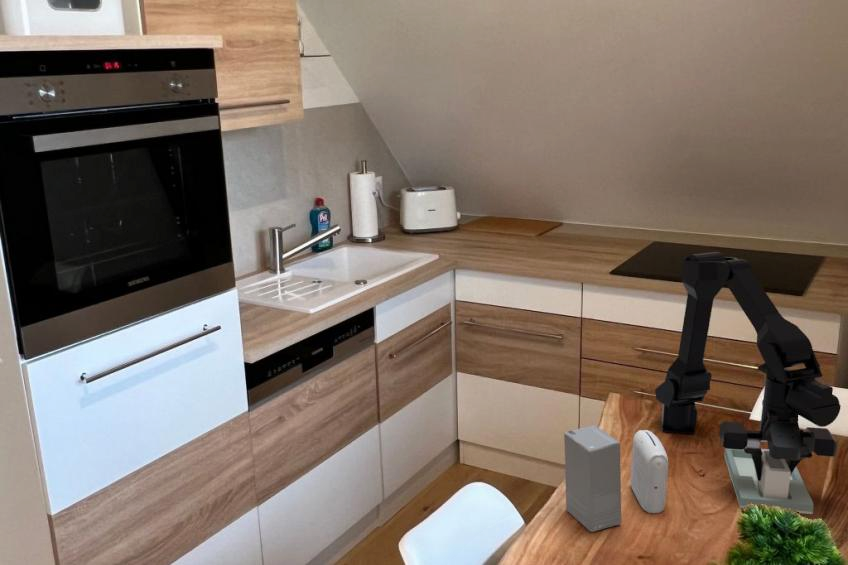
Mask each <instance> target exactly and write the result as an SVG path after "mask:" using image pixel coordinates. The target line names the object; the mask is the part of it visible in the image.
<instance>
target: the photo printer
mask: <svg viewBox="0 0 848 565" xmlns="http://www.w3.org/2000/svg"><path fill="white" fill-rule="evenodd" d="M631 453H632V454H631V468H630V478H629V479H630V488H631V490H632V492H633V493H634V496H635V498H636V500H637V502H638V503H639V506H640V507H641V508H642V510H643V511H645V512H647V513H648V514H649V513H650V514H660V513H661V512H662V511H664V510H665V507H666V496H667V486H668V474H669V472H668V471H669V460H668V459H669V458H668V455H667V452H666V450H665V447H664V446H663V444H662V442H661V440H660V439H659V438H658V436H656V434H655V433H653V432H652V431H650V430H647V429H645V430H643V429H639V430H638V431H637V432H635V433H634V435H633V439H632V452H631Z"/></svg>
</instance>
